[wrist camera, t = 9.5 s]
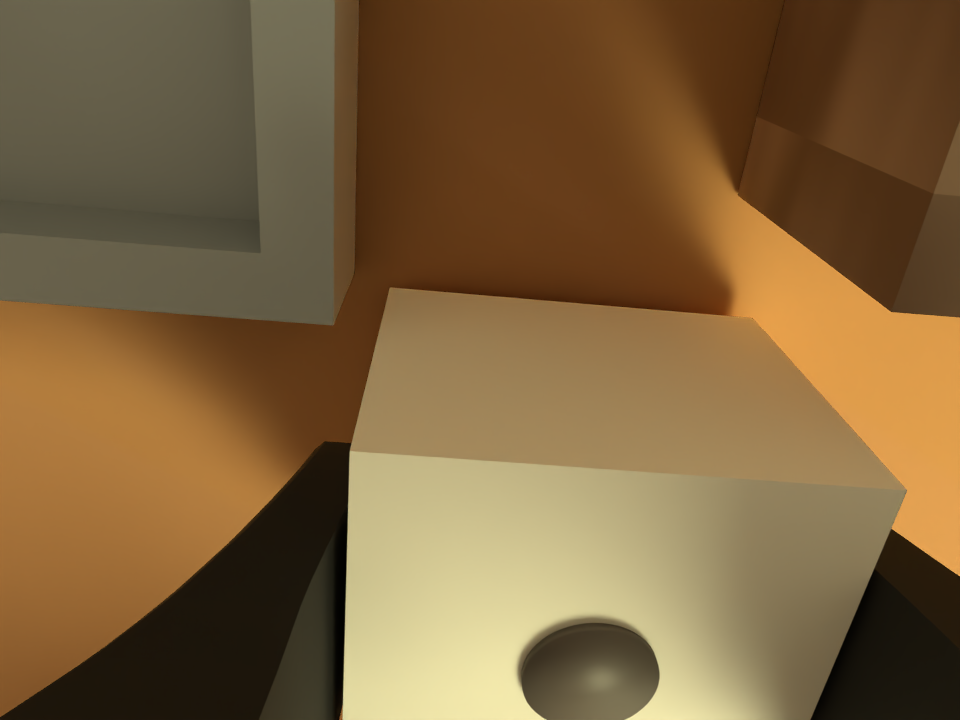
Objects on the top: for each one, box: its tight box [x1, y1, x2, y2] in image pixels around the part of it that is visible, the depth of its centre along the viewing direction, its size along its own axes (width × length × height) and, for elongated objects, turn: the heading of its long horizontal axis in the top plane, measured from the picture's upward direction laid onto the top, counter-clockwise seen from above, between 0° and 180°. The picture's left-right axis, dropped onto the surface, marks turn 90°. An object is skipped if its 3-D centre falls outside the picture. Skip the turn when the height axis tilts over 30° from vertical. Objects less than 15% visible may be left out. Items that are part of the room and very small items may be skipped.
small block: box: [343, 287, 907, 720], centre depth 9 cm, size 5×5×4 cm
